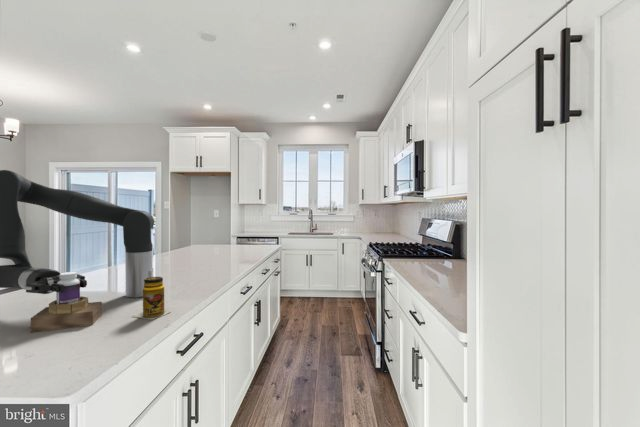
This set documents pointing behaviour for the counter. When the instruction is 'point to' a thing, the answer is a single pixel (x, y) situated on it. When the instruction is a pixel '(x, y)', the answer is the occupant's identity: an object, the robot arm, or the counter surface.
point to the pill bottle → (69, 288)
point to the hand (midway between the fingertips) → (74, 286)
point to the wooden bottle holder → (66, 315)
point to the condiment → (153, 299)
